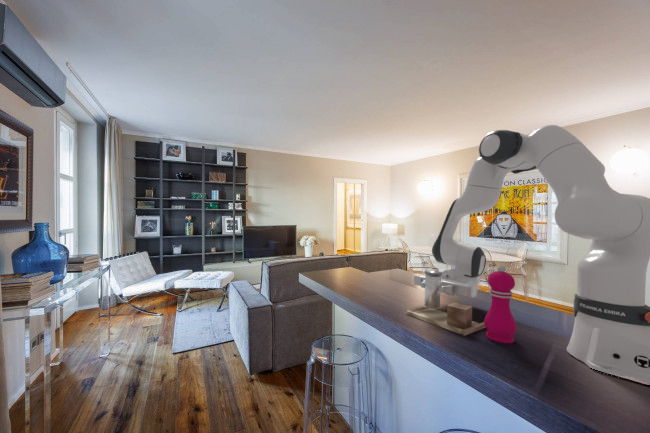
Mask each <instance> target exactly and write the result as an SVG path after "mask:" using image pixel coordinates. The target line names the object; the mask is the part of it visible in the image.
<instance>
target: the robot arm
mask: <svg viewBox="0 0 650 433" xmlns="http://www.w3.org/2000/svg"><path fill="white" fill-rule="evenodd" d="M478 153H479V156H480V157H478V158H477V159H476V160H474V162H473V165H472V167H471V169H470V172H469V175H468V178H467V181H466V186H465V189H464V191H463V193H462V194H461V195H460V197H458V198H455V199H454V201H453V202H452V203H451V205H450V207H449V209H448V212H447V214H446V216H445V219H444V221H443V224H442V225H441V226H442V227H441V229H440V231H439V234H438V236H437V237H436V240H435V241H434V243H433V246H432V248H431V254H432V256H433V258H434V260H435V261H436V263H437V262H438V263H439V264H440V263H441V264H444V265H449V266H451V267H454V268H451V269H446V270H443V271H441V272H442V276H441V286H439V287H438V289H439V290H438V291H439V292H441V293H443V294H445V295H447V296H451V297H452V296H460V297H463V298H476V297H477V296H478V290H479V289H478V288H479V287H478V285H479V284H480V282H481V279H482V276H481V275H483V273H484V271H485V268H486V264H487V257H486V255H485V252H484V251H483V249H482V248H481V247H480V246H476V245H472V244H469V243H466V242H462V241H461V242H460V241H458V240H454V236H455V232H456V230H457V228H458V226H459V223H460V221H461V220H462V218H463V217H466V216H467V215H472V214H478V213H484V212H486V211H487V212H488V211H489V210H491V209H493V208H494V207H495V206H496V205H497V204H498V202H499V199H500V196H501V192H502V190H503V189H502V188H503V183H504V180H505V177H506V176H507V175H508V174H509V173H513V174H515V175H516V174H517V175H518V174H520V173H523V172H529V171H533V170H538V171H539V173H540V174H541V176H542V177H543V178H544V179H545V181H546V182H547V183H548V185H549V187H551V189H552V191H553V193H554V195H555V197H556V200H557V201H556V202H557V205H556V207H555V209H554V220H555V223H556V225H557V227H558V228H559V229H560V230H561V231H563V232H564V233H566V234H568V235H570V236H571V235H572V236H575V237H577V238H581V239H584V240H585V239H586V240H591V243H590V246H589V248H588V250H587V252H586V254H585V255H584V256H583V257H582V258H581V259H579V261H578V264H577V274H576V276H577V277H576V279H577V280H576V282H577V283H576V293H575V294H574V298H573V306H572V307H573V308H572V309H573V316H574V318H575V319H574V322H573V323H574V324H573V329H572V332H571V337H570V339H569V341H568V345H567V347H566V351H567V353H569V354H570V355H571V356H573V357H574V358H575V359H577V360H579V361H581V362H582V363H584V364H586V366H588V368H590V369H591V368H592V370H593V369H595V370H598V371H602V372H607V373H613V374H617V375H620V376H628V377H633V378H635V379H638V380H640V381H643V382H647V383H649V384H650V306H649V305H647V304H646V282H647V272H648V271H647V270H648V264H649V261H650V198H649V197H646V196H644V195H639V194H629V193H628V194H627V193H620V192H618V191H616V190H614V189H613V188H612V187H611V186H610V184H608V181H607V180H606V177H605V172H606V167H605V165H604V164H603V162H601V161H600V159H598V158H597V157H596V156H595V154H594V153H593V152H591V151H590V149H588V147H587V146H586V145H585V144H584V143H583V142H582V141H581V140H580V139H578V138H577V137H576V136H575V135H574V134H573V133H571V132H569V131H568V130H567V129H565V128H563V127H562V126H559V125H556V124H547V125H543V126H541V127H539V128H537V129H536V130H534V131H533V132H532V133H530V134H529V135H526V134H524V133H520V132H518V131H512V130H508V129H499V130H498V129H497V130H493V131H490V132H488V133H487V134H486V135H485V136H484V137H483V138H482V140H481V141H480V144H479V148H478ZM412 281H413V282H412V283H413V285H415V286H418V287H420V288H422V289H425V273H418V274H417V273H416V274H414V275H413V280H412ZM595 370H594V371H595ZM598 371H597V372H598Z"/></svg>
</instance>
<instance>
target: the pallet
mask: <svg viewBox="0 0 650 433" xmlns="http://www.w3.org/2000/svg"><path fill="white" fill-rule="evenodd" d="M405 313H406V315H408V316H410V317H413V318H416V319H419V320H421V321H424V322H426V323H429V324H432V325H433V326H437V327H440V328H443V329H446V330H448V331H451V332H453V333H456V334H460V335H461V336H467V335H470V334H473V333H476V332H479V331H480V330H483V329H486V327H485V326H484V321H483V322H480V323H479V322H477V321H473V320H472V327H469V328H466V329H464V330H463V329H460V328H457V327H454V326H451V325H448V324H447V311H446V312H445V311H442V310H439V309H437V308H431V307H427V308H424V309H420V310H417V311H412V310H409V309H408V310H406V312H405Z"/></svg>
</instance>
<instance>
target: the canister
mask: <svg viewBox="0 0 650 433" xmlns="http://www.w3.org/2000/svg"><path fill="white" fill-rule="evenodd" d="M442 272H443V271H439V270H432V269H427V270H424V274H425V288H424V298H423V300H424V304H423V305H424V306H425V307H427V308H433V309H439V308H441V293H442V292H439V291H438V290H439V289H438V287H439V286H441V276H442Z"/></svg>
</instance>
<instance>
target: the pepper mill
mask: <svg viewBox="0 0 650 433" xmlns="http://www.w3.org/2000/svg"><path fill="white" fill-rule="evenodd" d="M487 284H488V285H489V287H490V289H489V294H490V297H491V304H490V308H489V310H488V311H487V312H486V314H485V317H484V319H483V322H484V326H485V327H486V328H485V329H486V330H487V331H486V332H485V337H486V338H488V339H489V340H492V341H495V342H497V343H502V344H503V343H504V344H513V343H514V342H515V338H514V337H513V335H515V334H516V333H517V329H518V328H517V324H516V319H515V317H514V316H513V314H512V311H511V308H510V306H511V305H510V303H511V302H510V300H511V299H512V298H513V292H512V290H513V289H514V288H515V286H516V282H515V278H514V277H513V276H512V274H510V273H508V272H506V267H505V266H503V265H499V266H498V267H497V271H493V272H492V273H490V274H489V275H488V278H487Z"/></svg>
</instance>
